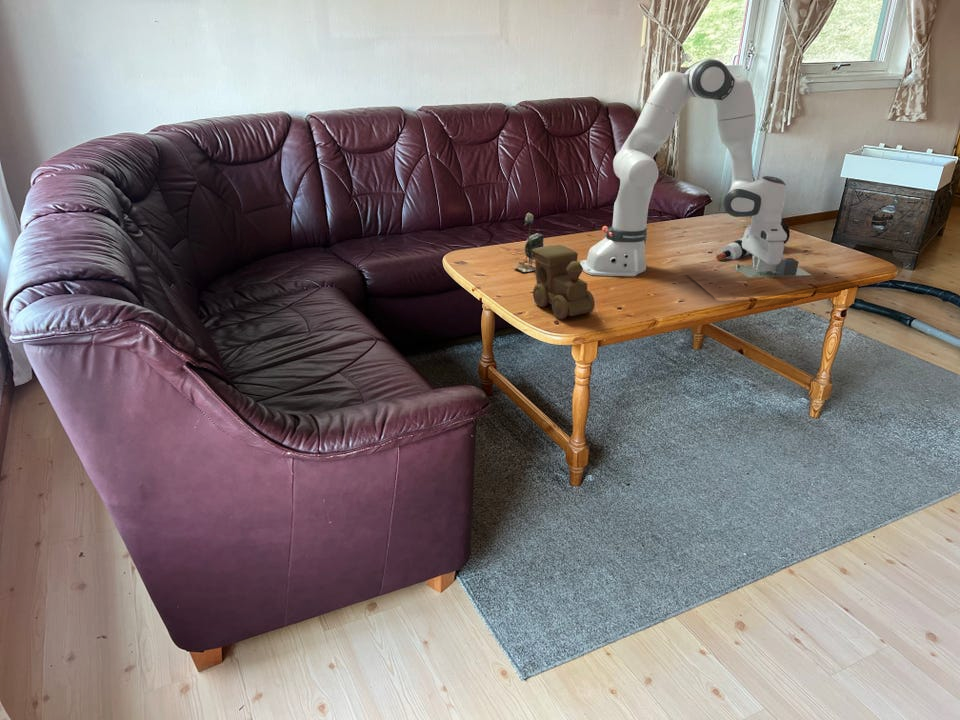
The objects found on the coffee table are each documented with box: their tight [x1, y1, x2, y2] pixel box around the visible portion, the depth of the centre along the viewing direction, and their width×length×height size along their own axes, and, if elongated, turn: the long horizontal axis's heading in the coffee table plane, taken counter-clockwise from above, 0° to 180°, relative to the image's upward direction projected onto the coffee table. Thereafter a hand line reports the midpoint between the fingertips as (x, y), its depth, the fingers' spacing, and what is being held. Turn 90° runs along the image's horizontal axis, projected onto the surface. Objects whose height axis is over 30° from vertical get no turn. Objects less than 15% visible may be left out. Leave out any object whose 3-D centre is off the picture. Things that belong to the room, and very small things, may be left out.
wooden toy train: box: [532, 244, 596, 320], centre depth 194 cm, size 20×11×17 cm, turn 28°
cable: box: [715, 219, 791, 261], centre depth 243 cm, size 10×34×10 cm, turn 125°
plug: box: [761, 257, 799, 274], centre depth 224 cm, size 12×4×4 cm, turn 96°
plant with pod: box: [513, 212, 545, 273], centre depth 227 cm, size 8×11×20 cm
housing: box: [732, 256, 812, 279], centre depth 225 cm, size 22×12×7 cm, turn 96°
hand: (757, 269), depth 223 cm, fingers closed
